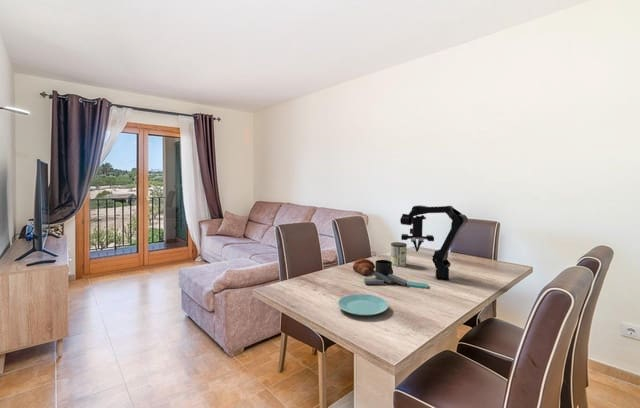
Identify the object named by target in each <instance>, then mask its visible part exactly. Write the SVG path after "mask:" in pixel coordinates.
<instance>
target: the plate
mask: <svg viewBox="0 0 640 408" xmlns="http://www.w3.org/2000/svg"><path fill="white" fill-rule="evenodd" d="M389 305H390V304H389V302H388V301H387V300H386V299H384V298H383V297H380V296H377V295H373V294H369V293H356V294H355V293H353V294H348V295H344V296H342V297H340V298H339V299H338V301H337V306H338V308H339V309H341V310H342V311H344V312H346V313H349V314H351V315H354V316H358V317H370V316H375V315H379V314H382V313H384V312H385V311H387V309H388V308H389Z"/></svg>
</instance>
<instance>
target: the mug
mask: <svg viewBox="0 0 640 408" xmlns="http://www.w3.org/2000/svg"><path fill="white" fill-rule="evenodd" d="M374 265H375V268H374V269H375V270H374V271H375V272H379V273H381V274H383V275H385V276H387V275H389V274H390V273H391V274H393V275H394V269H393V265H392V262H391V260H389V259H378V260H375V264H374ZM375 272H374V273H375ZM376 278H378V277H376Z"/></svg>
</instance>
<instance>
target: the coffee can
mask: <svg viewBox="0 0 640 408" xmlns="http://www.w3.org/2000/svg"><path fill="white" fill-rule="evenodd" d="M407 246H408V244H407V243H405V242H399V241H398V242H391V243H390V261H391V262H392V267H405V266H407Z"/></svg>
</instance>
